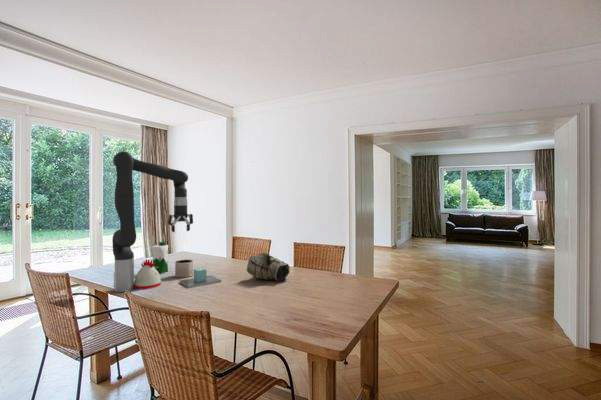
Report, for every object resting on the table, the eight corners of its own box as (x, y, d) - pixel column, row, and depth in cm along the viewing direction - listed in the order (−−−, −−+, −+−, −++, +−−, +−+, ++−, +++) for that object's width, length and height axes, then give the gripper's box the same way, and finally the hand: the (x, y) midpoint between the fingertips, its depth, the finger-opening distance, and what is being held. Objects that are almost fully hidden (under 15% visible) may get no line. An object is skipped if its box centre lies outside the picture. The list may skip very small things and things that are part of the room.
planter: (181, 279, 195) (181, 263, 195) (171, 276, 201) (171, 261, 201) (196, 275, 203) (196, 260, 203) (186, 273, 210) (186, 258, 210)
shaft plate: (188, 288, 176) (188, 277, 176) (179, 282, 187) (179, 273, 187) (221, 281, 189) (221, 272, 189) (211, 277, 200) (211, 268, 199)
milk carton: (170, 271, 215) (170, 242, 215) (160, 274, 206) (160, 244, 206) (159, 270, 217) (159, 241, 217) (149, 273, 209) (149, 243, 209)
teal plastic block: (193, 280, 188) (193, 269, 188) (202, 278, 192) (202, 267, 191) (197, 282, 184) (197, 270, 184) (206, 280, 187) (206, 269, 187)
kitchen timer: (149, 289, 173) (149, 262, 172) (128, 288, 175) (128, 261, 175) (165, 283, 186) (165, 257, 186) (145, 281, 189) (145, 256, 189)
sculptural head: (296, 258, 198) (267, 249, 213) (275, 256, 181) (245, 247, 196) (290, 285, 197) (262, 274, 212) (269, 286, 180) (239, 274, 195)
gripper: (190, 204, 197) (190, 230, 197) (166, 204, 188) (166, 231, 188) (194, 204, 191) (194, 231, 192) (170, 205, 182) (170, 233, 182)
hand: (180, 231), depth 190 cm, fingers open, 8 cm apart
